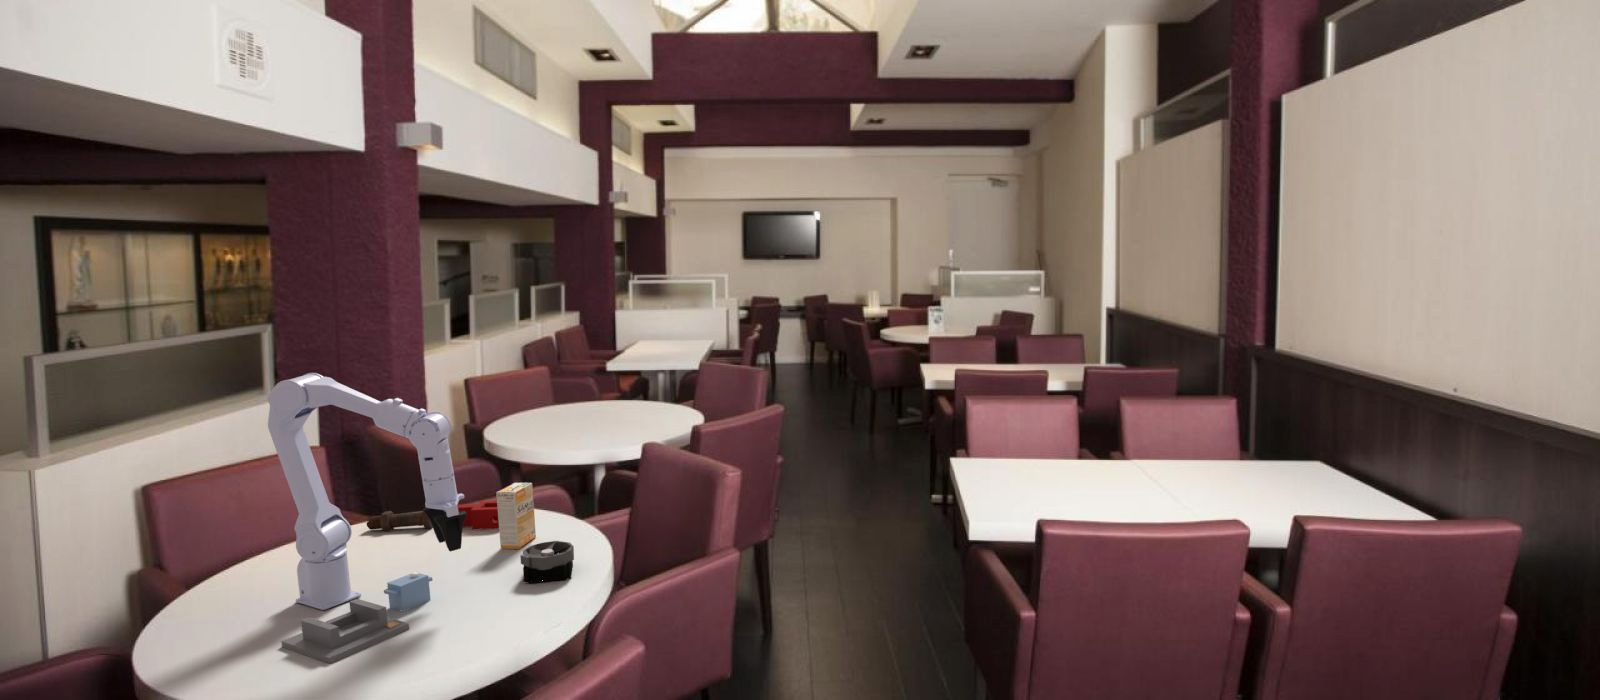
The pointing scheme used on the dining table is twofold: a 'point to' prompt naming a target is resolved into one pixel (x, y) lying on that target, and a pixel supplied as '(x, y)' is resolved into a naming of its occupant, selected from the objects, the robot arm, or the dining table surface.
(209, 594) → the dining table surface
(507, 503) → the supplement box
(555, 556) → the cpu cooler
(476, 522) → the mechanical linkage
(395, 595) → the block
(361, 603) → the board
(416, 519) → the bolt
